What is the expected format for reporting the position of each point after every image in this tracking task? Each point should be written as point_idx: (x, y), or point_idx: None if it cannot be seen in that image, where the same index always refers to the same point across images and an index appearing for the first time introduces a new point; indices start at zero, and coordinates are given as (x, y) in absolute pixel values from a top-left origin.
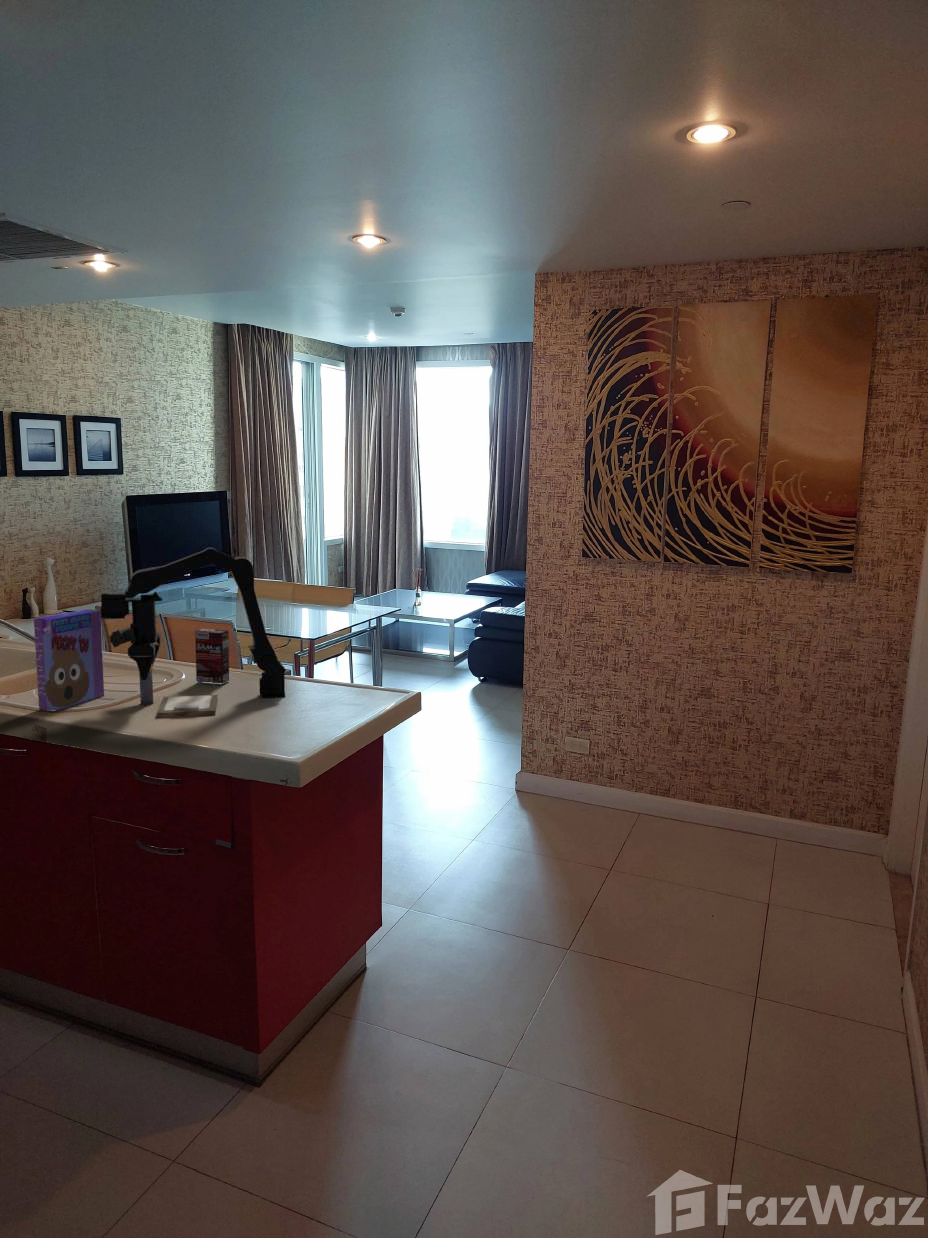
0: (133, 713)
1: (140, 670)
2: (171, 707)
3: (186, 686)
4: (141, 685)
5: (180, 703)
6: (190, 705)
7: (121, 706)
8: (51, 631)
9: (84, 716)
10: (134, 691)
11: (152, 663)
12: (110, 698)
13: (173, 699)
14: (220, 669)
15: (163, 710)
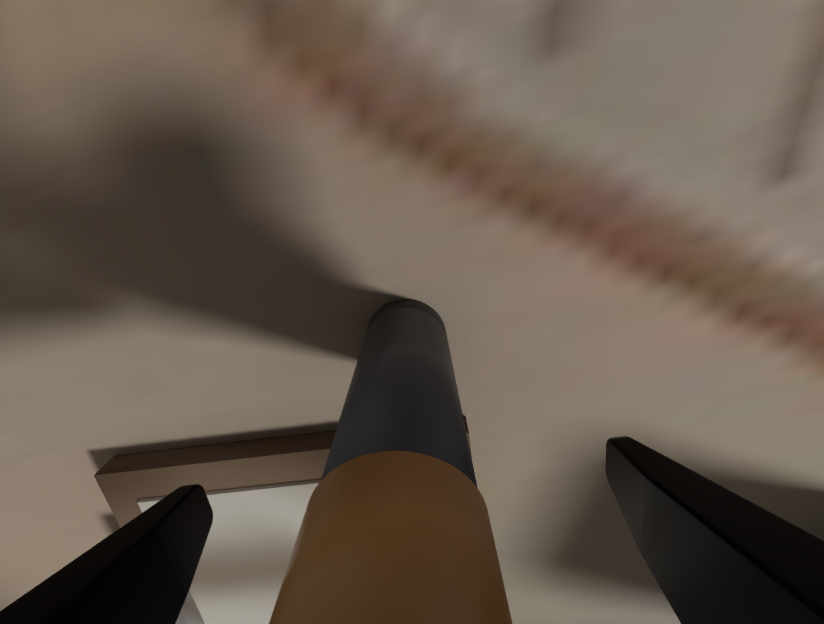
0: (173, 314)
1: (31, 611)
2: None
3: (820, 463)
4: (354, 384)
5: (292, 549)
6: (256, 595)
7: (334, 185)
8: None
9: None
10: (787, 154)
11: (677, 602)
12: (587, 7)
13: None
14: None
15: (150, 495)
